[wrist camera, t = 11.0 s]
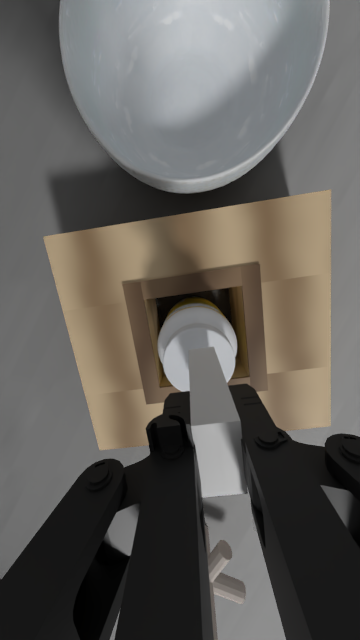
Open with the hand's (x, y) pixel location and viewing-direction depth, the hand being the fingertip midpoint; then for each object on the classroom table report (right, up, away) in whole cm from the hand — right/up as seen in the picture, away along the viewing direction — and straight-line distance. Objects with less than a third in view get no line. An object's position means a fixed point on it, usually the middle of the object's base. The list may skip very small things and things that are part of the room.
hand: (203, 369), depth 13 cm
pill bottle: (0, +3, +12) cm, 12 cm away
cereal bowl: (-1, +22, +7) cm, 24 cm away
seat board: (0, +3, +12) cm, 12 cm away
